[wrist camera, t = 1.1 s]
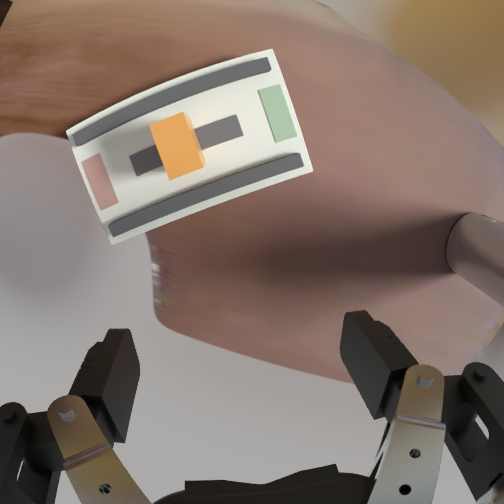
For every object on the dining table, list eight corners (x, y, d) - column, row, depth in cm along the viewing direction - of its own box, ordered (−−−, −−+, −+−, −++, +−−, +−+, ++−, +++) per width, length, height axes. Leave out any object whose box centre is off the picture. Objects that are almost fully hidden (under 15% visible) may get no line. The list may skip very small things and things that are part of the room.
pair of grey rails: (264, 60, 24) (267, 56, 22) (300, 165, 27) (304, 166, 26) (77, 134, 24) (71, 134, 23) (116, 233, 27) (113, 237, 26)
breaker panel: (265, 59, 27) (272, 48, 23) (301, 167, 31) (313, 171, 28) (81, 131, 27) (65, 130, 23) (122, 233, 31) (111, 246, 28)
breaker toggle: (190, 118, 24) (182, 111, 18) (205, 161, 26) (203, 167, 20) (163, 128, 24) (148, 125, 18) (179, 171, 26) (169, 180, 20)
